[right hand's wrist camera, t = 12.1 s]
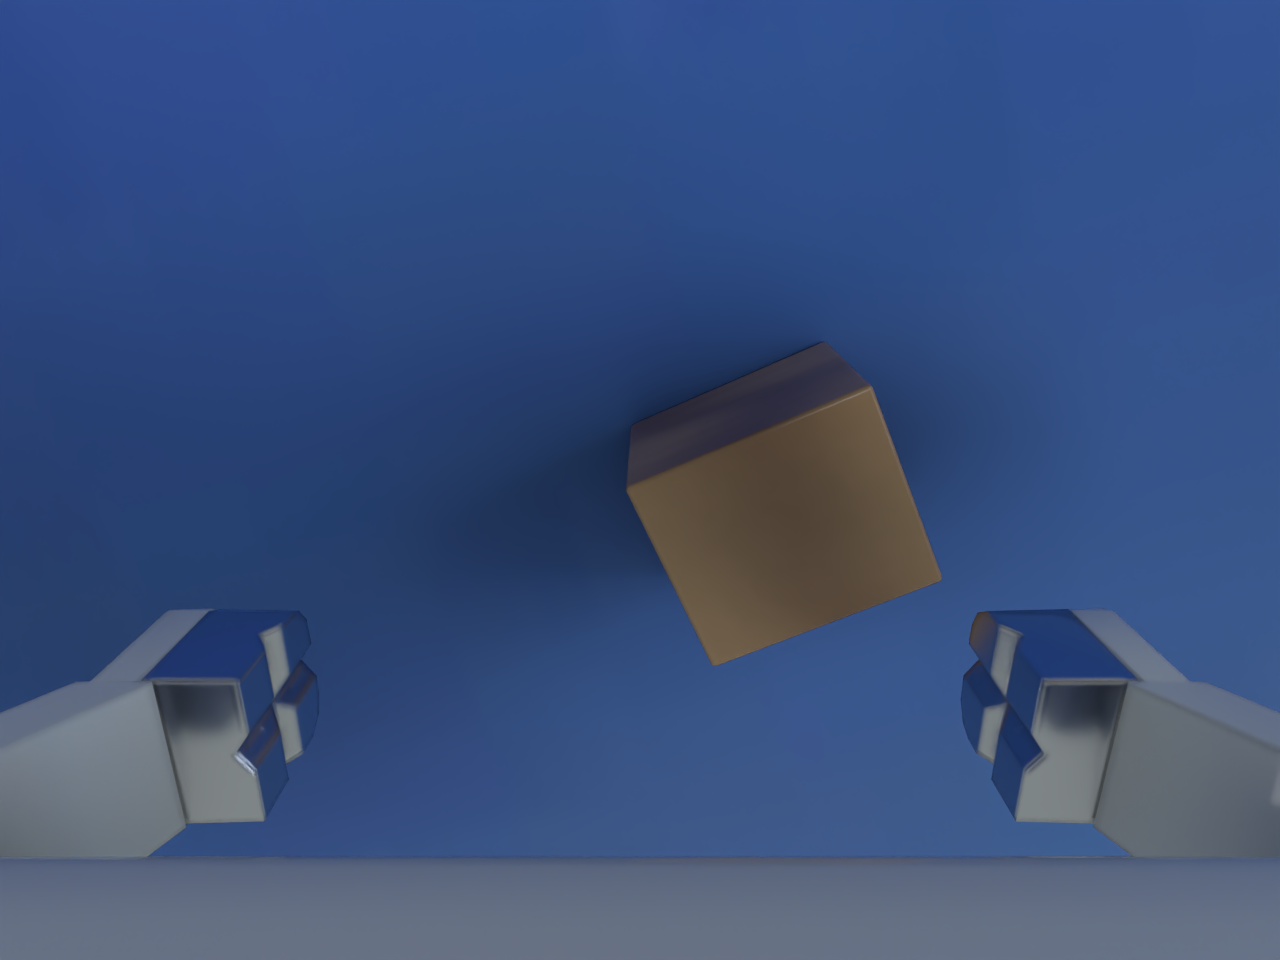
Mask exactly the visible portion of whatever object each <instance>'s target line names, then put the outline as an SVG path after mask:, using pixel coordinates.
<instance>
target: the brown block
mask: <svg viewBox="0 0 1280 960" xmlns="http://www.w3.org/2000/svg"><path fill="white" fill-rule="evenodd" d="M626 492H627V494H628V496H629V498H630V500H631V502H632V504H633V506H634V508H635V510H636V512H637V514H638V516H639V518H640V520H641V522H642V524H643V526H644V528H645V530H646V532H647V535H648V537H649V539H650V541H651V543H652V545H653V547H654V549H655V551H656V553H657V555H658V557H659V559H660V561H661V563H662V565H663V567H664V569H665V571H666V573H667V575H668V577H669V579H670V581H671V583H672V585H673V587H674V589H675V591H676V594H677V596H678V598H679V600H680V602H681V604H682V606H683V608H684V610H685V612H686V614H687V616H688V618H689V620H690V622H691V624H692V626H693V628H694V630H695V632H696V634H697V636H698V638H699V640H700V642H701V644H702V646H703V648H704V650H705V653H706V655H707V657H708V659H709V661H710V663H711V664H712V665H713V666H717V665H720V664H722V663H725V662H728V661H730V660H733V659H736V658H738V657H741V656H744V655H746V654H749V653H752V652H754V651H757V650H760V649H762V648H765V647H767V646H770V645H773V644H775V643H778V642H781V641H783V640H786V639H789V638H791V637H794V636H797V635H799V634H802V633H804V632H807V631H810V630H812V629H815V628H818V627H820V626H823V625H826V624H828V623H831V622H834V621H836V620H839V619H842V618H844V617H847V616H849V615H852V614H855V613H857V612H860V611H863V610H865V609H868V608H871V607H873V606H876V605H879V604H881V603H884V602H887V601H889V600H892V599H894V598H897V597H900V596H902V595H905V594H908V593H910V592H913V591H916V590H918V589H921V588H924V587H926V586H929V585H931V584H934V583H937V582H939V581H941V580H942V575H941V572H940V569H939V567H938V564H937V561H936V558H935V556H934V553H933V550H932V548H931V545H930V542H929V539H928V537H927V534H926V531H925V528H924V526H923V523H922V520H921V518H920V515H919V512H918V509H917V507H916V504H915V501H914V498H913V496H912V493H911V490H910V488H909V485H908V482H907V479H906V477H905V474H904V471H903V468H902V466H901V463H900V460H899V457H898V455H897V452H896V449H895V447H894V444H893V441H892V438H891V436H890V433H889V430H888V427H887V425H886V422H885V419H884V417H883V414H882V411H881V408H880V406H879V403H878V400H877V397H876V395H875V392H874V389H873V387H872V386H871V385H870V384H869V383H868V382H867V381H866V380H865V379H864V378H863V377H862V376H861V375H860V374H858V373H857V372H856V371H855V370H854V369H853V368H852V367H851V366H850V365H849V364H848V363H847V362H846V361H845V360H844V359H843V358H842V357H841V356H840V355H839V354H838V353H837V352H836V351H835V350H834V349H833V348H832V347H831V346H830V345H828V344H827V343H826V342H822V343H820V344H817V345H815V346H813V347H810V348H808V349H806V350H803V351H801V352H799V353H797V354H794V355H792V356H790V357H787V358H785V359H783V360H780V361H778V362H776V363H774V364H771V365H769V366H767V367H764V368H762V369H760V370H757V371H755V372H753V373H750V374H748V375H746V376H744V377H741V378H739V379H737V380H734V381H732V382H730V383H727V384H725V385H723V386H720V387H718V388H716V389H714V390H711V391H709V392H707V393H704V394H702V395H700V396H697V397H695V398H693V399H690V400H688V401H686V402H684V403H681V404H679V405H677V406H674V407H672V408H670V409H667V410H665V411H663V412H661V413H658V414H656V415H654V416H651V417H649V418H647V419H644V420H642V421H640V422H637V423H635V424H633V425H632V426H631V432H630V445H629V457H628V470H627V482H626Z"/></svg>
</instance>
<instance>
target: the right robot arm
mask: <svg viewBox="0 0 1280 960" xmlns="http://www.w3.org/2000/svg"><path fill="white" fill-rule="evenodd" d="M310 645H311V640H310V635H309V630H308V625H307V620H306V618H305V617H304V616H303V615H302V614H301V613H300V611H283V610H230V609H219V610H215V609H213V608H209V609H177V610H168V611H166V612H165V613H164V614H163V615H162V616H161V617H160V618H159V619H158V620H157V621H155V622H154V623H153V624H152V625H151V626H150V627H149V628H148V629H147V630H146V631H145V632H143V633H142V634H141V635H140V636H139V637H138V638H137V639H136V640H135V641H134V642H133V643H131V644H130V645H129V646H128V647H127V648H126V649H125V650H124V651H123V652H122V653H121V654H120V655H118V656H117V657H116V658H115V659H114V660H113V661H112V662H111V663H110V664H109V665H108V666H106V667H105V668H104V669H103V670H102V671H101V672H100V673H99V674H98V675H97V676H96V677H94V678H93V679H92V680H91V681H90V682H74V683H71V684H69V685H67V686H64V687H62V688H59V689H57V690H54V691H52V692H49V693H47V694H45V695H42V696H40V697H37V698H35V699H32V700H30V701H27V702H25V703H22V704H20V705H18V706H15V707H13V708H10V709H8V710H5V711H3V712H0V960H1280V713H1279V712H1277V711H1274V710H1272V709H1270V708H1267V707H1265V706H1262V705H1260V704H1257V703H1255V702H1252V701H1250V700H1248V699H1245V698H1243V697H1240V696H1238V695H1235V694H1233V693H1230V692H1228V691H1226V690H1223V689H1221V688H1218V687H1216V686H1213V685H1211V684H1208V683H1206V682H1190V681H1189V680H1188V679H1187V678H1186V677H1185V676H1183V675H1182V674H1181V673H1180V672H1179V671H1178V670H1177V669H1176V668H1175V667H1174V666H1173V665H1171V664H1170V663H1169V662H1168V661H1167V660H1166V659H1165V658H1164V657H1163V656H1162V655H1161V654H1160V653H1158V652H1157V651H1156V650H1155V649H1154V648H1153V647H1152V646H1151V645H1150V644H1149V643H1148V642H1146V641H1145V640H1144V639H1143V638H1142V637H1141V636H1140V635H1139V634H1138V633H1137V632H1136V631H1135V630H1133V629H1132V628H1131V627H1130V626H1129V625H1128V624H1127V623H1126V622H1125V621H1124V620H1123V619H1122V618H1120V617H1119V616H1118V615H1117V614H1116V613H1115V612H1114V611H1110V610H1107V609H1104V608H1096V609H1073V610H1069V609H1056V610H1014V611H985V612H979V613H977V615H976V617H975V620H974V622H973V624H972V628H971V633H970V639H969V645H970V646H971V648H972V649H973V651H974V652H975V654H976V656H977V657H978V659H979V660H978V661H977V662H976V663H975V664H974V665H973V666H972V667H971V668H970V669H969V670H968V671H967V672H966V674H965V675H964V677H963V685H962V693H961V708H962V718H963V724H964V727H965V730H966V734H967V737H968V739H969V741H970V743H971V745H972V746H973V748H974V750H975V752H976V753H977V754H978V755H980V756H981V757H983V758H985V759H986V760H988V761H989V762H991V763H993V764H994V767H993V772H992V778H991V780H992V781H993V783H994V785H995V787H996V788H997V790H998V792H999V793H1000V795H1001V797H1002V799H1003V800H1004V802H1005V804H1006V805H1007V807H1008V809H1009V810H1010V812H1011V814H1012V816H1013V817H1014V819H1015V821H1025V822H1062V823H1094V825H1093V827H1094V828H1096V829H1097V830H1098V831H1100V832H1101V833H1102V834H1104V835H1105V836H1106V837H1108V838H1109V839H1110V840H1112V841H1113V842H1114V843H1116V844H1117V845H1118V846H1120V847H1121V848H1122V849H1124V850H1125V851H1126V852H1128V853H1129V854H1130V855H1132V856H1133V857H147V856H149V855H150V854H151V853H153V852H154V851H155V850H157V849H158V848H159V847H161V846H162V845H163V844H165V843H166V842H167V841H169V840H170V839H171V838H173V837H174V836H175V835H177V834H178V833H179V832H181V831H182V830H183V829H185V828H186V823H217V822H253V821H265V819H266V817H267V816H268V814H269V812H270V811H271V809H272V807H273V805H274V804H275V802H276V800H277V799H278V797H279V795H280V793H281V792H282V790H283V788H284V787H285V785H286V783H287V781H288V780H289V778H288V773H287V767H286V764H287V763H289V762H291V761H292V760H294V759H295V758H297V757H299V756H300V755H302V754H303V753H304V752H305V750H306V748H307V746H308V745H309V743H310V741H311V739H312V737H313V734H314V730H315V726H316V722H317V717H318V713H319V690H318V684H317V677H316V675H315V674H314V673H313V671H312V670H311V669H310V668H309V667H308V666H307V665H306V664H305V663H304V662H303V661H302V660H301V659H302V657H303V655H304V654H305V652H306V651H307V649H308V648H309V646H310Z"/></svg>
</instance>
